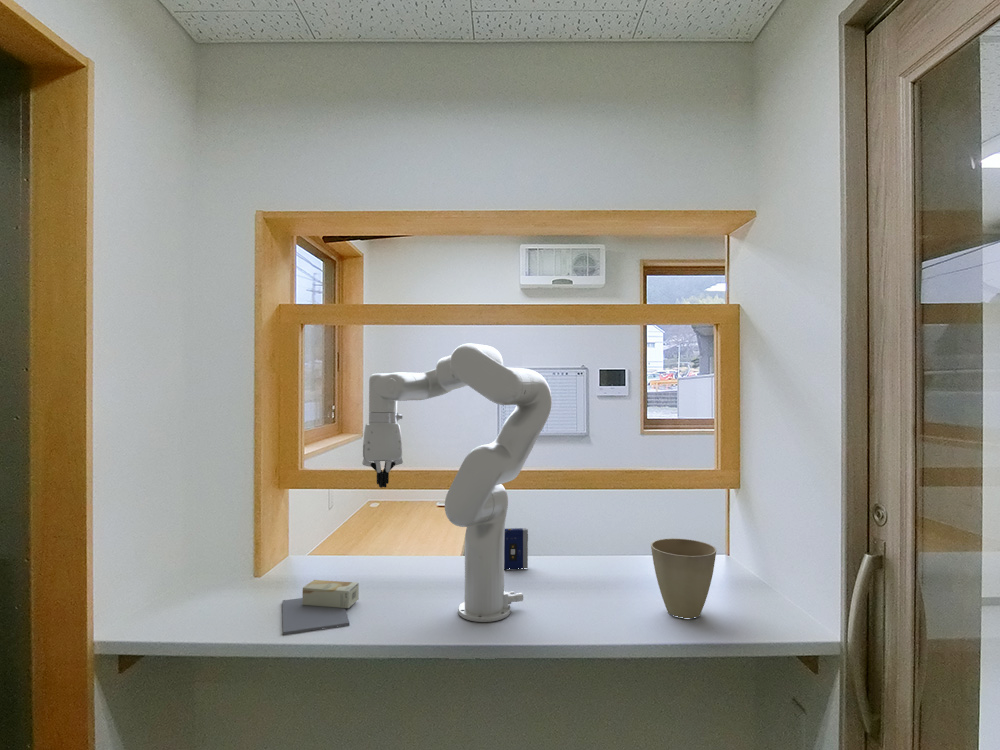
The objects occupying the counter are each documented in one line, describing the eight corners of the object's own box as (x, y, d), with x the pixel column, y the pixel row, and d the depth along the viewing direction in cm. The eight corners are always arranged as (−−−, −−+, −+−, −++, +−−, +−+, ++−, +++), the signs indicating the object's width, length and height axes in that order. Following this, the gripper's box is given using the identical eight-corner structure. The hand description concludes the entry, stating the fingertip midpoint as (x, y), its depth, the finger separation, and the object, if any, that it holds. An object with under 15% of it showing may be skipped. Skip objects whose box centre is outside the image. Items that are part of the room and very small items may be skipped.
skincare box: (348, 590, 136) (301, 587, 138) (348, 609, 136) (301, 605, 138) (359, 581, 142) (314, 578, 144) (359, 599, 142) (313, 596, 144)
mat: (340, 595, 146) (340, 593, 147) (349, 625, 128) (349, 622, 128) (282, 602, 141) (282, 600, 141) (283, 635, 123) (283, 632, 123)
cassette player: (503, 570, 167) (503, 529, 168) (502, 567, 170) (502, 527, 170) (528, 569, 168) (528, 529, 168) (527, 567, 170) (527, 527, 171)
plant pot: (638, 606, 139) (638, 541, 140) (688, 599, 144) (687, 536, 145) (678, 630, 125) (677, 558, 126) (731, 621, 130) (730, 551, 131)
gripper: (407, 417, 160) (406, 483, 159) (353, 418, 154) (352, 486, 154) (413, 419, 153) (412, 487, 152) (356, 420, 147) (356, 490, 147)
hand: (382, 486), depth 153 cm, fingers closed
